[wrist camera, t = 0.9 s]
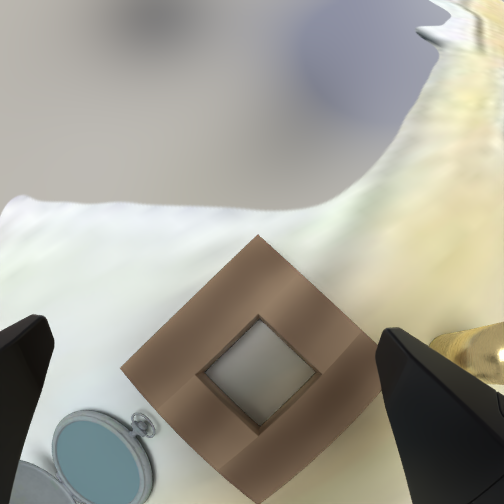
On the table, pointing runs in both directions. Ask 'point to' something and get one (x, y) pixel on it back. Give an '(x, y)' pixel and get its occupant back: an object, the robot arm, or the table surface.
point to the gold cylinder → (476, 351)
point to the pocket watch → (89, 464)
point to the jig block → (223, 337)
